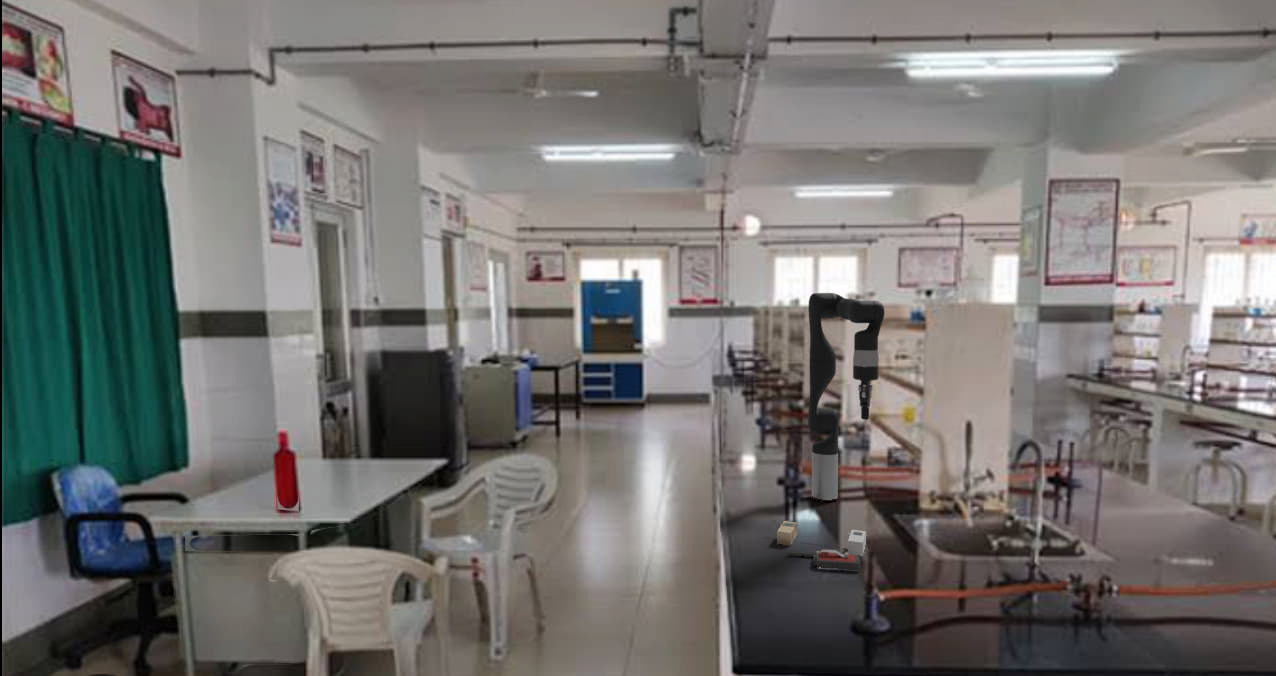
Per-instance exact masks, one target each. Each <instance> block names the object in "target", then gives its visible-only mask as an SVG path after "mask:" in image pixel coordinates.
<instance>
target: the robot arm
mask: <svg viewBox="0 0 1276 676" xmlns="http://www.w3.org/2000/svg"><path fill="white" fill-rule="evenodd" d="M884 317H885V308H884V305H883V303H882V302H881V301H879V300H859V299H855V298H846V297H844V296H842V295H839V294H837V293H833V292H815V293H812V294H811V295H810V296H809V298H808V323H809V398H808V399H809V401H808V413H807V414H808V415H807V418H808V419H807V424H808V425H807V426H808V427H807V428H808V431H809V433H811V434H818V435H819V434H820V435H828V437H826V438H825V439H822V440H820V441H817V442H814V443H812V445H811V497H812V496H813V497H815V498H818V499H822V500H832V499H837V498H839V497H838V495H839V494H838V492H839V491H838V490H839V481H838V480H839V430H840V429H839V428H840V412H839V411H838V410H837V409H836V408H824V407H823V408H822V407H821V408H818V407H819V403H820V400H821V397H822V395H824V392H825V391H826V389H827V388H828V386H829V385H830V384H831V382H832V381H833V379H834V377H835V375H836V371H837V370H836V369H837V365H836V364H837V359H836V358H837V355H836V352H835V350H834V349H833V347H832V345H831V343H830V342H829V340H828V339H827V337H826V335H825V333H824V331H823V326H822V319H823V320H825V319H827V320H828V319H835V318H841V319H844V320H847V321H850V322H851V323H855V324H868V326H867V327H866V329H863V330H859V331H856V332H855V333H854V337H853V338H854V342H853V343H854V344H853V346H854V347H853V349H854V350H853V356H852V357H853V359H852V378H853V379H854V380H856V381H860V384H859V385H858V386H857V388H858V398H859V406H860V410H861V411H860V414H861V415H860V419H861V420H869V419H870V407H871V400H872V392H873V384H871V381H877V380H878V379H879V361H880V359H879V352H878V351H879V335H880V332H881V327H882V323H883V321H884Z"/></svg>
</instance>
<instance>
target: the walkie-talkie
mask: <svg viewBox="0 0 1276 676" xmlns="http://www.w3.org/2000/svg"><path fill="white" fill-rule="evenodd" d="M786 555H787V556H788V557H789V556H790V557H791V556H792V557H801V556H804V558H812V557H814V558H812V560H813V561H812V562H813V564H812V565H814V566H813V567H816V565H817V567H818V568H819V567H821V568H838V569H847V570H856V571H857V570H858V571H859V570H861V569H862V568H861V567H862V566H861V565H862V563H863V559H862V558H860V556H858V555H850V554H848V551H846V552H845V553H841V552H839V550H836V549H825V548H824V549H820V550H816V551H815V552H811V553H809V552H796V551H795V552H794V551H787V553H786ZM817 567H816V568H817Z"/></svg>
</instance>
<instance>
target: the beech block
mask: <svg viewBox="0 0 1276 676" xmlns="http://www.w3.org/2000/svg"><path fill="white" fill-rule="evenodd" d="M780 525H781V526H780V528H779V529H778V531H777V540H776V545H778V544H783V545H782V546H785V545H791V544H792V545H793V543H794V542H793V540H794V539H795V537H796V535H797V527H798V522H794V521H787V520H783V522H782V523H781V524H780ZM792 542H793V543H792ZM792 545H791V546H792Z"/></svg>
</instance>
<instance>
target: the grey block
mask: <svg viewBox="0 0 1276 676" xmlns="http://www.w3.org/2000/svg"><path fill="white" fill-rule="evenodd" d="M849 534H850V536H849V539H848V550H847V553H848V554H853V555H859V557H862V556H864V554H863V553H865V552H864V549H865V545H866V536H867V531H865V530H857V529H851V531H850V533H849Z"/></svg>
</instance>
